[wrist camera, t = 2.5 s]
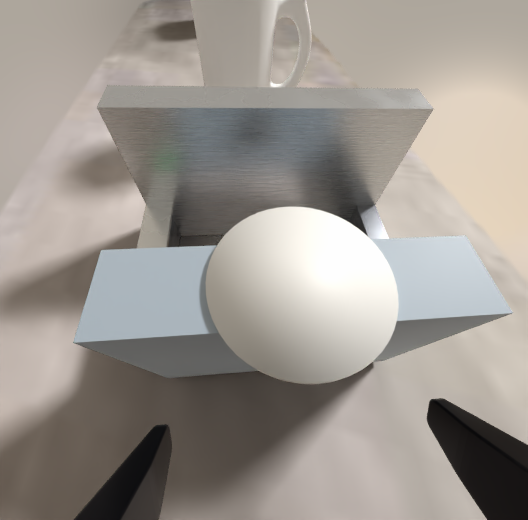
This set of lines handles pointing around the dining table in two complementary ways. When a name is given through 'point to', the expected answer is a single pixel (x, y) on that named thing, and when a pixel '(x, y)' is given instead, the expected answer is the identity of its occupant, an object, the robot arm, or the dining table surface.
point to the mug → (246, 40)
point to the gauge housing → (258, 152)
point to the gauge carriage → (285, 299)
